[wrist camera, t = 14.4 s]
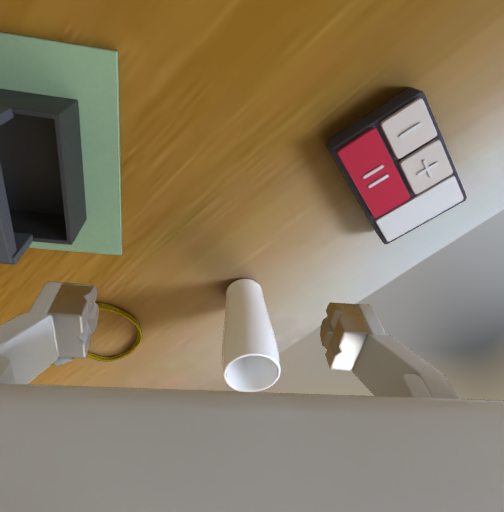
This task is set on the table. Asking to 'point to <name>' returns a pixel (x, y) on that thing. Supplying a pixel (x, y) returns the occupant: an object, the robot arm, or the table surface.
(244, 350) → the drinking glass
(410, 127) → the calculator
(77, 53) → the desk mat
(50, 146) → the caddy bin
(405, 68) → the table surface
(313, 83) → the table surface
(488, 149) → the table surface
